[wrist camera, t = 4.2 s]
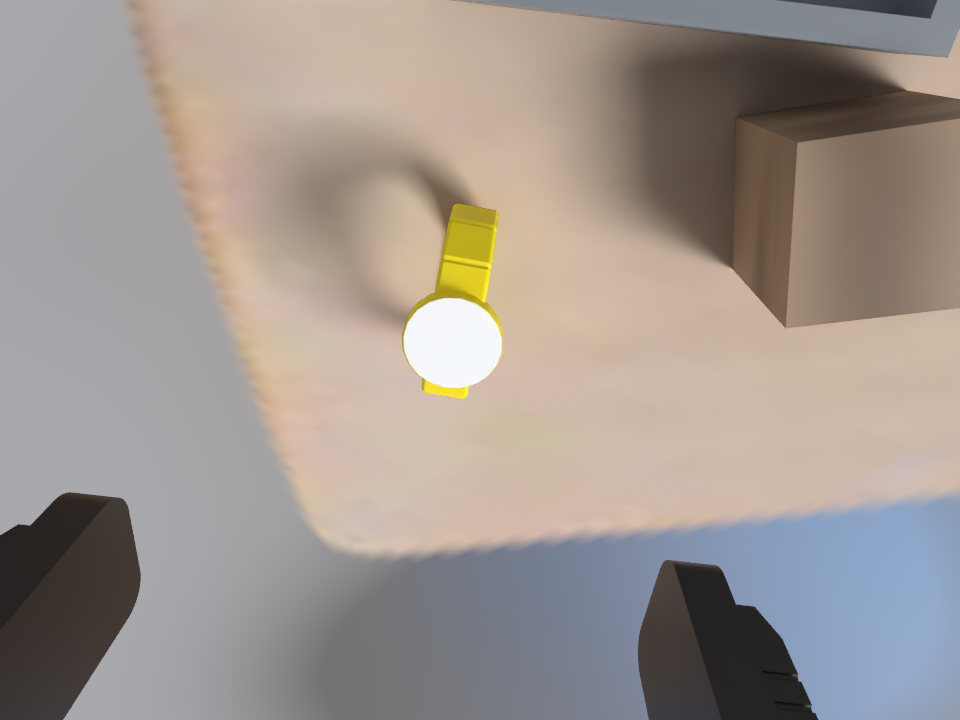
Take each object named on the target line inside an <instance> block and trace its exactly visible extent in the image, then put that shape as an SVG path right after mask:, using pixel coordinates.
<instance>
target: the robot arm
mask: <svg viewBox="0 0 960 720" xmlns="http://www.w3.org/2000/svg"><path fill="white" fill-rule="evenodd" d="M140 576H141V575H140V568H139V562H138V557H137V552H136V546H135V541H134V535H133V530H132V525H131V519H130V515H129V509H128V506H127V504H126V502H125V501H124V500H123V499H121V498H116V497H107V496H97V495H88V494H79V493H70V492H69V493H65V494H62V495H61V496H59V497H58V498H57V499H56V500H55V501H53V503H52V504H51V505H50V506H49V507H48V508H47V509H46V510H45V511H44V512H43V513H42V514H41V515H40V516H39V517H38V518H37V519H36V520H35V521H34V523H33V524H31V526H28V525H17V526H15V527H13V528H12V529H10V530H9V531H7V532H5V533H4V534H2V535H0V720H63V719H64V717H65V716H66V714H67V713H68V711H69V710H70V708H71V707H72V705H73V703H74V702H75V700H76V699H77V697H78V696H79V694H80V693H81V691H82V689H83V688H84V686H85V685H86V683H87V682H88V680H89V679H90V677H91V675H92V674H93V672H94V671H95V669H96V668H97V666H98V664H99V663H100V661H101V660H102V658H103V657H104V655H105V654H106V652H107V650H108V649H109V647H110V646H111V644H112V643H113V641H114V639H115V638H116V636H117V635H118V633H119V632H120V630H121V628H122V627H123V625H124V624H125V622H126V620H127V619H128V618H129V616H130V614H131V612H132V610H133V607H134V605H135V603H136V600H137V597H138V593H139V588H140V578H141V577H140ZM638 663H639V672H640V677H641V682H642V687H643V692H644V697H645V702H646V707H647V712H648V717H649V720H818V718H817V716H816V714H815V713H812V710H811V706H812V705H811V702H810V700H809V698H808V696H807V693H806V692H805V689H804V687H803V684H802V682H799V681H798V673H797V671H796V669H795V667H794V665H793V662H792V660H791V658H790V655H789V653H788V651H787V649H786V646H785V644H784V642H783V640H782V638H781V637H780V636H779V635H778V633H777V632H776V631H775V630H774V629H773V628H772V627H771V625H770V624H769V623H768V622H767V621H766V620H765V619H764V617H763V616H762V615H761V614H760V613H759V611H758V610H757V609H756V608H755V607H752V606H743V605H736V604H735V601H734V599H733V596H732V593H731V591H730V589H729V586H728V583H727V581H726V578H725V576H724V574H723V572H722V570H721V569H720V568H719V567H718V566H716V565H708V564H698V563H690V562H681V561H672V560H666V561H665V562H664V563H663V564H662V566H661V568H660V571H659V574H658V577H657V580H656V583H655V586H654V589H653V593H652V595H651V598H650V602H649V605H648V608H647V611H646V614H645V617H644V620H643V623H642V626H641V630H640V635H639V643H638Z"/></svg>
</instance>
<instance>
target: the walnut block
mask: <svg viewBox="0 0 960 720" xmlns="http://www.w3.org/2000/svg"><path fill="white" fill-rule="evenodd" d="M732 269H733V270H734V271H735V272H736V273H737V274H738V276H739V277H740V278H741V279H742V280H743V281H744V282H745V283H746V285H747V286H748V287H749V288H750V289H751V290H752V291H753V292H754V293H755V295H756V296H757V297H758V298H759V299H760V300H761V301H762V302H763V303H764V305H765V306H766V307H767V308H768V309H769V310H770V311H771V312H772V314H773V315H774V316H775V317H776V318H777V319H778V320H779V321H780V322H781V324H782V325H783V326H784V327H785V328H792V327H801V326H809V325H818V324H826V323H835V322H843V321H852V320H860V319H869V318H877V317H886V316H894V315H903V314H911V313H920V312H928V311H937V310H945V309H954V308H960V99H954V98H948V97H942V96H936V95H930V94H924V93H918V92H912V91H900V92H894V93H888V94H881V95H875V96H868V97H862V98H855V99H849V100H842V101H836V102H829V103H823V104H816V105H810V106H804V107H797V108H791V109H784V110H778V111H771V112H765V113H758V114H752V115H745V116H739V117H736V128H735V174H734V220H733V266H732Z"/></svg>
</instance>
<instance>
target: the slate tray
mask: <svg viewBox="0 0 960 720" xmlns="http://www.w3.org/2000/svg"><path fill="white" fill-rule="evenodd" d="M454 1H462V2H471V3H479V4H487V5H496V6H504V7H512V8H521V9H529V10H537V11H546V12H554V13H562V14H571V15H579V16H587V17H596V18H604V19H612V20H621V21H629V22H637V23H646V24H654V25H662V26H671V27H679V28H687V29H696V30H704V31H712V32H721V33H729V34H737V35H746V36H754V37H762V38H771V39H779V40H787V41H796V42H804V43H812V44H821V45H829V46H837V47H846V48H854V49H862V50H871V51H879V52H887V53H896V54H910V55H923V56H937V57H948V55H949V53H950V50H951V48H952V45H953V43H954V40H955V38H956V35H957V33H958V31H959V28H960V0H454Z"/></svg>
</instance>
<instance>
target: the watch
mask: <svg viewBox="0 0 960 720" xmlns="http://www.w3.org/2000/svg"><path fill="white" fill-rule="evenodd" d="M498 215H499V214H498V212H497V211H496V210H491V209H486V208H481V207H475V206H470V205H464V204H459V203H457V204H455V205H454V206H453V208H452V212H451V215H450V219H449V223H448V227H447V232H446V237H445V241H444V246H443V251H442V256H441V262H440V267H439V272H438V278H437V283H436V289H435V293H432V294H430V295H428V296H427V297H425V298H424V299H422V300H421V301H419V302H418V303H417V304H416V305H415V307H414V308H413V309H412V311H411V312H410V313H409V315H408V318H407V321H406V323H405V326H404V330H403V333H402V348H403V352H404V354H405V357H406V359H407V362H408V364H409V365H410V366H411V367H412V369H413V370H414V371H415V372H416V373H417V375H419V376H420V377H422V390H423V391H424V392H426V393H432V394H438V395H444V396H450V397H455V398H461V399H464V398H465V397H466V396H467V393H468V388H469V386H470V385H474V384H476V383H477V382H479V381H481V380H482V379H484V378H486V377H487V376H488V375H489V374H490V373H491V371H492V370H493V369H494V368H495V367H496V365H497V363H498V361H499V358H500V356H501V353H502V328H501V325H500V321H499V318H498V316H497V315H496V313H495V312H494V311H493V309H492V308H491V307H490V305H489V304H488V303H486V302H485V300H486V294H487V288H488V282H489V277H490V270H491V265H492V258H493V252H494V245H495V239H496V233H497V224H498Z"/></svg>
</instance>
